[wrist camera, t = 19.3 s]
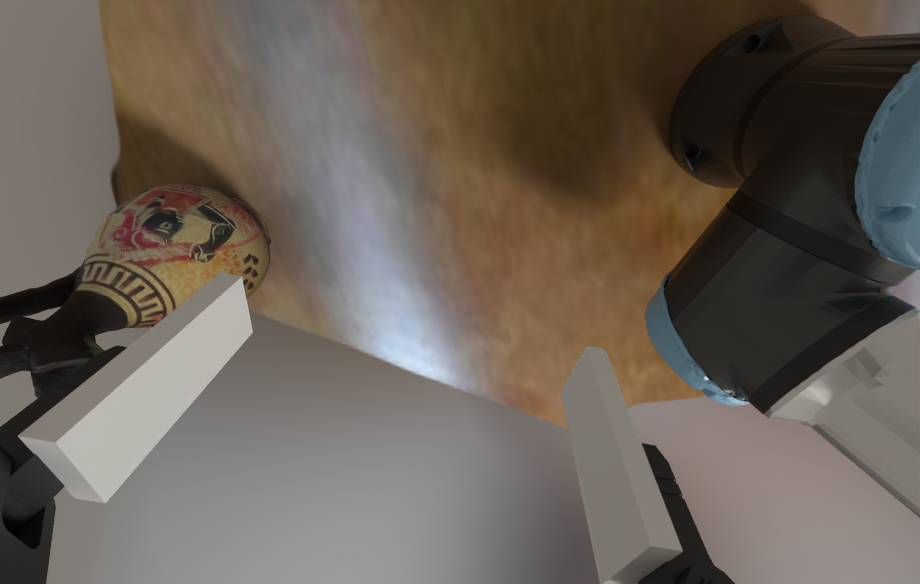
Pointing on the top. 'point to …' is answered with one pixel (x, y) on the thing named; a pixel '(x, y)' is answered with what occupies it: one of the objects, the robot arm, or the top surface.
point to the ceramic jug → (133, 277)
